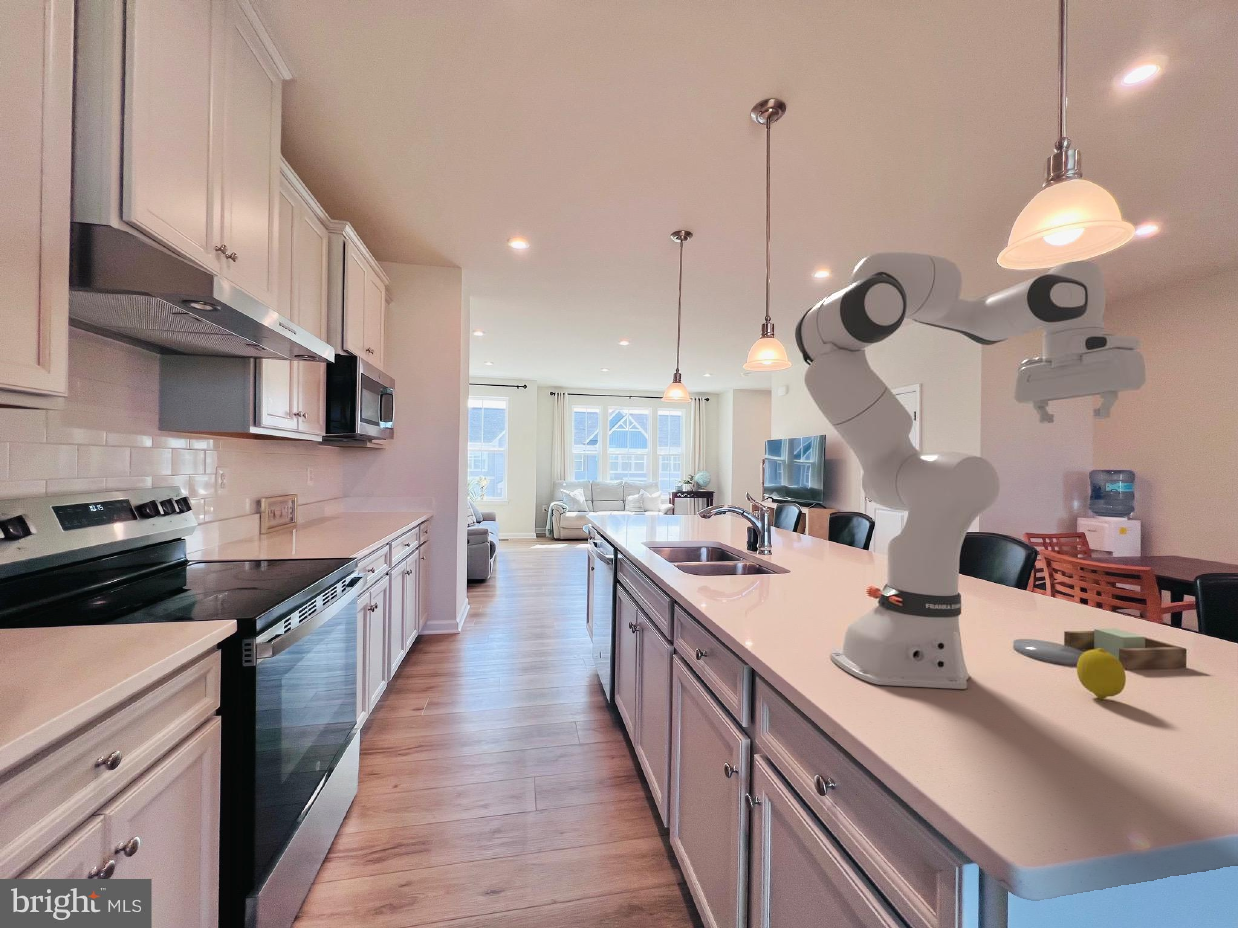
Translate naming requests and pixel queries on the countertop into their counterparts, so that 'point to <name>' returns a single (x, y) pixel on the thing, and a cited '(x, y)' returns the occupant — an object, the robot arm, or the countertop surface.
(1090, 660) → the lemon
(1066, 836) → the countertop surface
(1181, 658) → the cubby
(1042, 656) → the grey round glossy part
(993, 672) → the countertop surface
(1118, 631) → the cube
